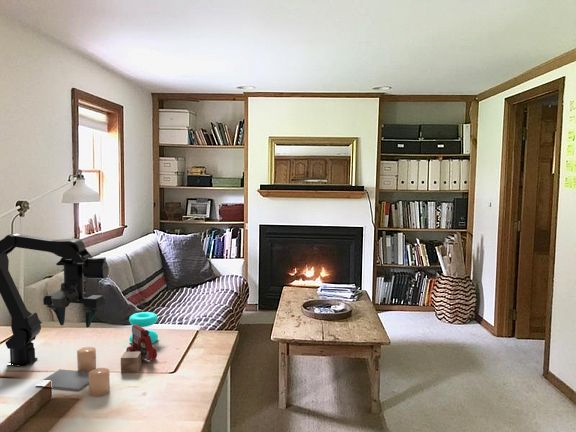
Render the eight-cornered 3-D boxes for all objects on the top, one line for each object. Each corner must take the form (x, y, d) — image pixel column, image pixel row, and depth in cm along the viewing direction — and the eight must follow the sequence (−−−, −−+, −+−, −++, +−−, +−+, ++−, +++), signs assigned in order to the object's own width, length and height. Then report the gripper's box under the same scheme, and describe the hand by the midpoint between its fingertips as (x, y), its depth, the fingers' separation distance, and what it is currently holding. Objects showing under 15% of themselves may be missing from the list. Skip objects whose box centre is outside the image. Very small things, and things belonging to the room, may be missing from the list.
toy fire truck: (140, 367, 154) (139, 335, 153) (124, 356, 163) (123, 326, 162) (160, 361, 158) (160, 330, 157) (143, 351, 168) (142, 321, 167)
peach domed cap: (85, 395, 134) (84, 374, 133) (96, 387, 139) (95, 367, 139) (102, 397, 133) (102, 376, 132) (113, 389, 138) (113, 368, 138)
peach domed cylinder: (73, 371, 150) (73, 352, 149) (84, 364, 155) (83, 346, 155) (89, 372, 149) (89, 354, 149) (99, 366, 154) (99, 347, 154)
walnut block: (121, 373, 149) (120, 357, 148) (125, 367, 154) (124, 351, 153) (137, 373, 149) (137, 357, 149) (141, 366, 154) (140, 351, 154)
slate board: (35, 386, 139) (35, 384, 139) (59, 371, 150) (59, 369, 150) (79, 391, 137) (79, 388, 137) (101, 375, 148) (101, 373, 147)
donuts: (134, 310, 181) (160, 311, 181) (134, 336, 182) (161, 337, 182) (124, 319, 171) (153, 319, 171) (125, 346, 172) (153, 346, 172)
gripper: (30, 282, 148) (31, 332, 150) (85, 286, 145) (86, 336, 146) (54, 275, 159) (55, 321, 161) (105, 278, 156) (106, 325, 157)
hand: (74, 326), depth 156 cm, fingers open, 9 cm apart
